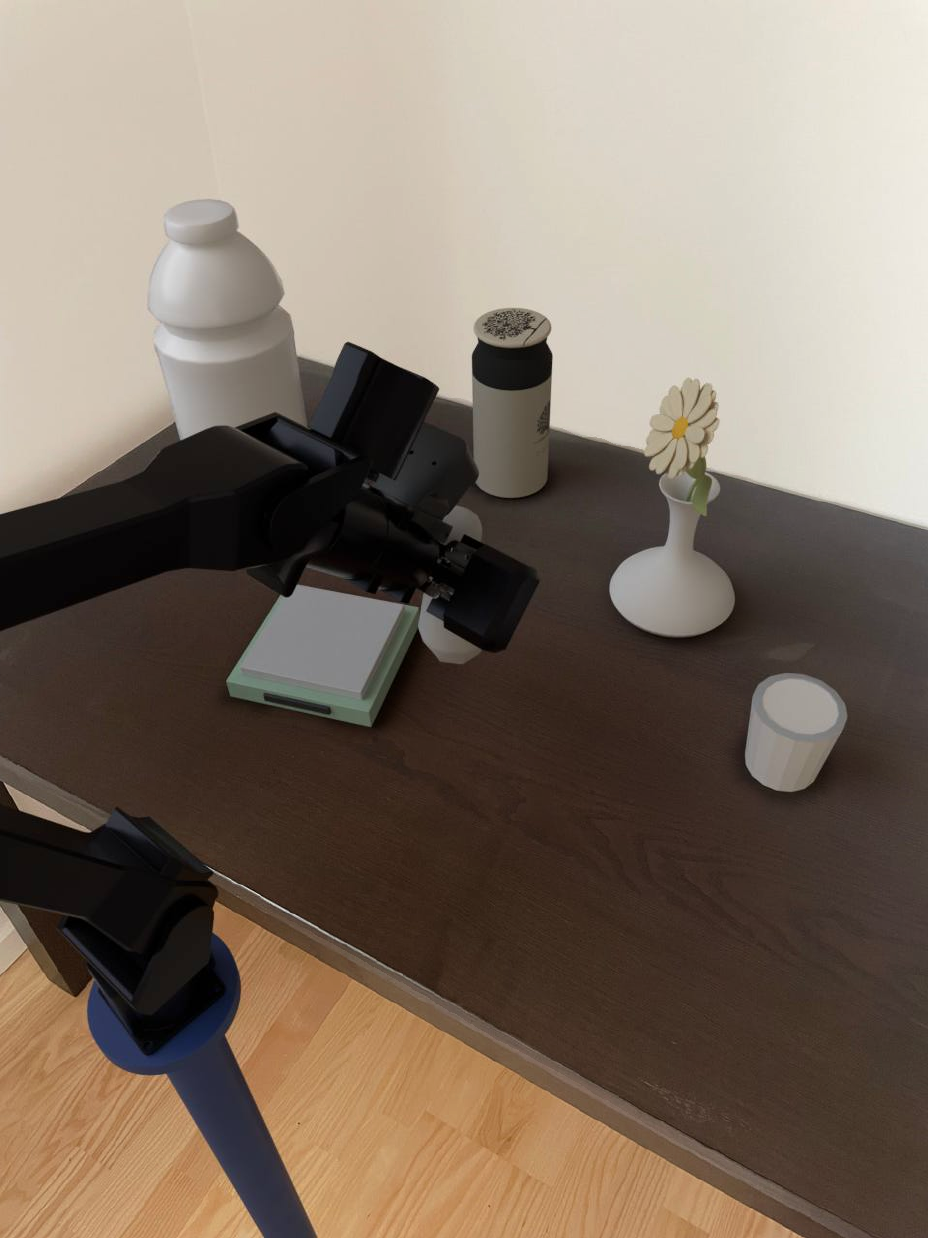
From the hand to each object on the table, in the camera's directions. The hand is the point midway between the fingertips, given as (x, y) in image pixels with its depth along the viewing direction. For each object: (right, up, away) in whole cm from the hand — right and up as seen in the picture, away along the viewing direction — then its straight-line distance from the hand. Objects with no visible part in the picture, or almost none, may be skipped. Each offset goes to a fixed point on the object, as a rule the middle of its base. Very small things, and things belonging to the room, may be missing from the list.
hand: (465, 576), depth 74 cm
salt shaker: (-1, -6, +4) cm, 7 cm away
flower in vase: (+19, -3, +16) cm, 25 cm away
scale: (-12, -7, +12) cm, 19 cm away
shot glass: (+25, -15, +3) cm, 29 cm away
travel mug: (+5, +12, +32) cm, 34 cm away
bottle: (-24, +14, +35) cm, 44 cm away
